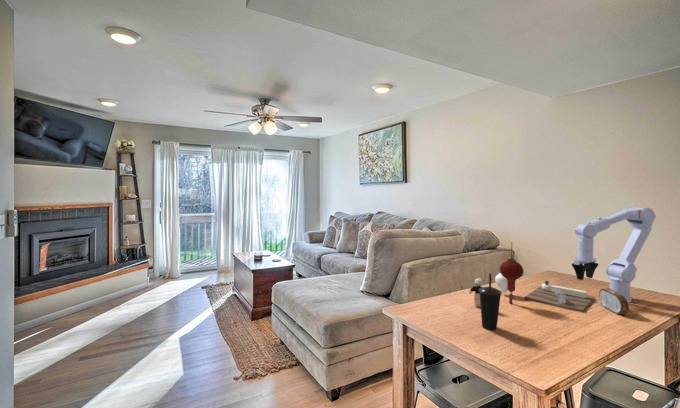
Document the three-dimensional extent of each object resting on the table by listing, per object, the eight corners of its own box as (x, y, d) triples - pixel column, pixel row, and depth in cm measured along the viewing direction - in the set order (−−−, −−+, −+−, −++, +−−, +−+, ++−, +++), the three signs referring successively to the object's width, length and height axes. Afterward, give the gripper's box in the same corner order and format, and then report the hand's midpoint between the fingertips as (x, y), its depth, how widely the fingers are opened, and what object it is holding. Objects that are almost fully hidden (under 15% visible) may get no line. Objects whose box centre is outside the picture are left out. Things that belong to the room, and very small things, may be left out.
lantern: (514, 300, 145) (516, 235, 144) (527, 307, 135) (529, 238, 134) (494, 300, 144) (495, 235, 144) (506, 307, 135) (507, 238, 134)
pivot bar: (540, 289, 156) (540, 284, 156) (543, 288, 159) (543, 283, 159) (585, 298, 143) (585, 293, 143) (587, 296, 146) (587, 291, 146)
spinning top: (496, 291, 158) (496, 267, 157) (513, 294, 153) (514, 269, 153) (493, 295, 152) (494, 270, 151) (511, 298, 147) (511, 273, 147)
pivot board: (540, 288, 163) (540, 277, 163) (594, 298, 147) (594, 286, 147) (524, 299, 146) (524, 287, 146) (582, 312, 130) (583, 298, 129)
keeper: (551, 296, 146) (551, 288, 146) (557, 297, 145) (557, 288, 145) (559, 304, 136) (559, 294, 136) (565, 304, 136) (565, 295, 136)
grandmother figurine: (487, 306, 136) (487, 277, 136) (488, 309, 133) (488, 280, 132) (468, 304, 139) (468, 276, 138) (469, 307, 135) (469, 278, 135)
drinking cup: (500, 333, 109) (500, 277, 109) (476, 328, 113) (477, 274, 113) (502, 326, 116) (502, 272, 115) (479, 321, 120) (480, 270, 119)
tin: (629, 317, 124) (630, 296, 124) (620, 317, 125) (620, 296, 124) (605, 304, 139) (605, 286, 138) (597, 304, 139) (597, 285, 139)
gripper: (584, 247, 153) (583, 274, 153) (567, 249, 147) (566, 278, 147) (601, 249, 147) (600, 278, 147) (584, 252, 140) (583, 282, 141)
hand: (584, 278), depth 147 cm, fingers open, 7 cm apart
